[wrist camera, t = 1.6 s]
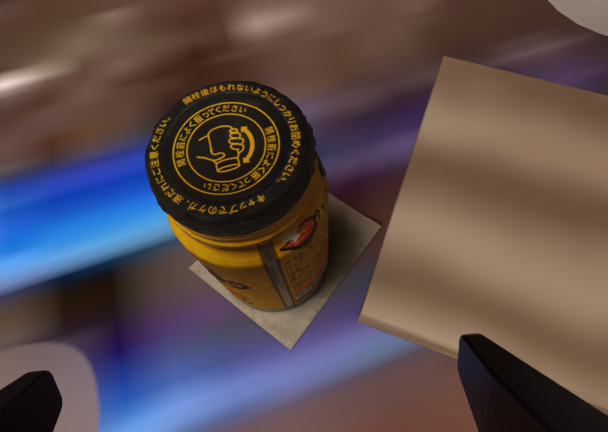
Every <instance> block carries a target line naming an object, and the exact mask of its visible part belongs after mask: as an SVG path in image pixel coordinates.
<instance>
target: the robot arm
mask: <svg viewBox="0 0 608 432" xmlns="http://www.w3.org/2000/svg"><path fill="white" fill-rule="evenodd" d="M458 372H459V376H460V379H461V382H462V385H463V388H464V391H465V393H466V396H467V399H468V402H469V405H470V408H471V411H472V414H473V417H474V420H475V422H476V425H477V428H478V431H479V432H608V415H606V414H605V413H603V412H601V411H600V410H598V409H597V408H595V407H594V406H592V405H591V404H589V403H588V402H586V401H584V400H583V399H581V398H580V397H578V396H577V395H575V394H574V393H572V392H571V391H569V390H567V389H566V388H564V387H563V386H561V385H560V384H558V383H557V382H555V381H554V380H552V379H550V378H549V377H547V376H546V375H544V374H543V373H541V372H540V371H538V370H536V369H535V368H533V367H532V366H530V365H529V364H527V363H526V362H524V361H523V360H521V359H519V358H518V357H516V356H515V355H513V354H512V353H510V352H509V351H507V350H506V349H504V348H502V347H501V346H499V345H498V344H496V343H495V342H493V341H492V340H490V339H489V338H487V337H485V336H484V335H482V334H480V333H473V334H463V335H461V336H460V339H459V350H458ZM61 408H62V397H61V394H60V392H59V389H58V387H57V385H56V383H55V380H54V377H53V375H52V374H51V373H50V372H49V371H46V370H44V371H33V372H28V373H26V374H24V375H23V376H21V377H20V378H18V379H17V380H15V381H14V382H12V383H11V384H9V385H7V386H6V387H4V388H3V389H1V390H0V432H53V430H54V427H55V425H56V422H57V420H58V417H59V414H60V412H61Z"/></svg>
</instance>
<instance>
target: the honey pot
mask: <svg viewBox="0 0 608 432" xmlns="http://www.w3.org/2000/svg"><path fill="white" fill-rule="evenodd" d="M548 1H549V2H550V3H551V4H552V5H553V6H554V7H555V8H556V9H557V10H558V11H559V12H561V13H562V14H564V15H565V16H567V17H568V18H570V19H571V20H572V21H574V22H575V23H577V24H579V25H581V26H583V27H586V28H588V29H590V30H593V31H595V32H597V33H600V34H603V35H607V36H608V0H548Z"/></svg>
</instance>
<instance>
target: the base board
mask: <svg viewBox="0 0 608 432" xmlns="http://www.w3.org/2000/svg"><path fill="white" fill-rule="evenodd" d="M357 322H359V323H362V324H365V325H367V326H370V327H373V328H375V329H378V330H381V331H383V332H386V333H389V334H391V335H394V336H397V337H399V338H402V339H405V340H407V341H410V342H413V343H416V344H418V345H421V346H424V347H426V348H429V349H432V350H434V351H437V352H440V353H442V354H445V355H448V356H450V357H453V358H456V359H458V350H459V339H460V336H461V335H463V334H473V333H480V334H482V335H484V336H485V337H487V338H489V339H490V340H492V341H493V342H495V343H496V344H498V345H499V346H501V347H502V348H504V349H506V350H507V351H509V352H510V353H512V354H513V355H515V356H516V357H518V358H519V359H521V360H523V361H524V362H526V363H527V364H529V365H530V366H532V367H533V368H535V369H536V370H538V371H540V372H541V373H543V374H544V375H546V376H547V377H549V378H550V379H552V380H554V381H555V382H557V383H558V384H560V385H561V386H563V387H564V388H566V389H567V390H569V391H571V392H572V393H574V394H575V395H577V396H578V397H580V398H581V399H583V400H584V401H586V402H588V403H589V404H591V405H592V406H594V407H595V408H597V409H598V410H600V411H601V412H603V413H605V414H606V415H608V96H607V95H603V94H599V93H595V92H591V91H586V90H582V89H578V88H574V87H570V86H566V85H562V84H558V83H554V82H549V81H545V80H541V79H537V78H533V77H529V76H525V75H521V74H517V73H512V72H508V71H504V70H500V69H496V68H492V67H488V66H484V65H480V64H475V63H471V62H467V61H463V60H459V59H455V58H451V57H447V56H444V57H443V60H442V63H441V66H440V68H439V71H438V74H437V77H436V80H435V82H434V85H433V88H432V91H431V94H430V97H429V100H428V103H427V106H426V109H425V112H424V115H423V119H422V122H421V125H420V128H419V131H418V134H417V137H416V140H415V143H414V146H413V149H412V152H411V156H410V159H409V162H408V165H407V168H406V171H405V174H404V177H403V180H402V183H401V186H400V190H399V193H398V196H397V199H396V202H395V205H394V208H393V211H392V214H391V217H390V220H389V223H388V227H387V230H386V233H385V236H384V239H383V242H382V245H381V248H380V251H379V254H378V257H377V261H376V264H375V267H374V270H373V273H372V276H371V279H370V282H369V285H368V288H367V291H366V294H365V298H364V301H363V304H362V307H361V310H360V313H359V316H358V319H357Z"/></svg>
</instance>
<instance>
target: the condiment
mask: <svg viewBox="0 0 608 432" xmlns="http://www.w3.org/2000/svg"><path fill="white" fill-rule="evenodd" d="M315 147H316V141H315V138H314V136H313V129H312V127H311V125H310V124H309V123H307V120H306V116H304V115H303V113H302V111H301V110H300V108H299V107H298V106H297V105H296V104H295V103H294V102H293V101H291V100H290V99H289V98H288V97H287V96H285V95H283V94H281V93H279V92H278V91H277V90H275V89H274V88H271V87H268V86H265V85H262V84H259V83H256V82H251V81H226V82H221V83H216V84H213V85H208V86H206V87H204V88H201V89H199V90H197V91H194V92H191V93H188V94H187V95H185V96H184V97H183V98H182V99H180V100H179V101H178V102H176V103H175V104H174V105H173V106H172V107H171V108H169V109H168V111H167V112H166V113H165V114H164V115H163V116H162V117H161V118H160V120H159V122H158V123H157V124H156V125H155V127H154V130H153V134H152V137H151V139H150V142H149V144H148V146H147V148H146V151H145V166H146V172H147V176H148V179H149V183H150V187H151V190H152V192H153V193H154V195H155V197H156V199H157V202H158V205H159V206H160V207H161V208H162V210H163V211H164V212H166V213H167V218H168V220H169V223H170V226H171V228H172V231H173V232H174V234H175V236H176V237H177V238H178V239H179V240H180V243H181V245H182V246H184V247H185V248H186V249H187V250H188V251H189V252H190V253H191V254H192V255H193V256H194V257H195V258H196V259H197V260H196V261H195V263H194V264H193V265H191V266H190V267H189V269H190V270H192V271H193V272H194V273H195V274H197V275H198V276H199V277H200V278H201V279H203V280H204V281H205V282H206V283H208V284H209V285H210V286H211V287H213V288H214V289H215V290H216V291H218V292H219V293H220V294H221V295H222V296H224V297H225V298H226V299H227V300H229V301H230V302H231V303H232V304H234V305H235V306H236V307H237V308H239V309H240V310H241V311H242V312H243V313H245V314H246V315H247V316H248V317H250V318H251V319H252V320H253V321H255V322H256V323H257V324H258V325H260V326H261V327H262V328H263V329H264V330H266V331H267V332H268V333H269V334H271V335H272V336H273V337H274V338H276V339H277V340H278V341H279V342H281V343H282V344H283V345H284V346H285V347H287V348H288V349H289V350H291V348H292V347H293V346H294V344H295V343H296V342H297V340H298V339H299V338H300V336H301V335H302V334H303V332H304V331H305V330H306V328H307V327H308V326H309V324H310V323H311V322H312V320H313V319H314V317H315V316H316V314H317V313H318V312H319V311H320V309H321V308H322V307H323V305H324V304H325V303H326V301H327V300H328V298H329V297H330V296H331V294H332V293H333V292H334V290H335V289H336V287H337V286H338V285H339V284H340V282H341V281H342V279H343V278H344V276H345V275H346V274H347V272H348V271H349V269H350V268H351V267H352V266H353V264H354V263H355V262H356V260H357V259H358V258H359V256H360V255H361V254H362V252H363V251H364V249H365V248H366V247H367V245H368V244H369V242H370V241H371V240H372V238H373V237H374V236H375V234H376V233H377V232H378V230H379V229H380V227H381V225H379V224H377V223H376V222H374V221H373V220H371V219H369V218H367V217H365V216H364V215H363V214H361V213H359V212H358V211H356V210H355V209H353V208H352V207H350V206H348V205H347V204H345V203H344V202H342V201H340V200H339V199H337V198H336V197H334V196H333V195H331V194H330V193H328V186H329V185H328V180H327V177H326V172H325V169H324V166H323V164H322V162H321V160H320V158H319V156H318V154H317V152H316V151H315ZM331 255H332V258H331V257H330V256H331Z"/></svg>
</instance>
